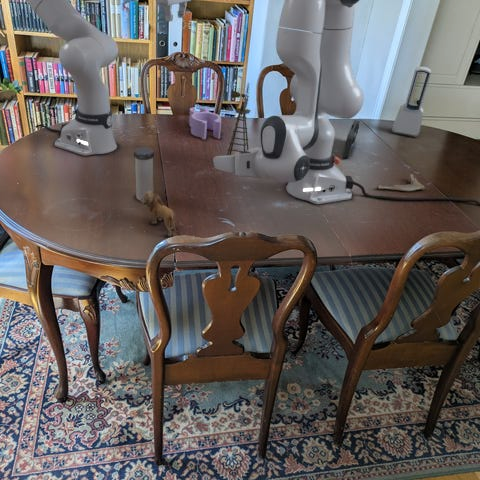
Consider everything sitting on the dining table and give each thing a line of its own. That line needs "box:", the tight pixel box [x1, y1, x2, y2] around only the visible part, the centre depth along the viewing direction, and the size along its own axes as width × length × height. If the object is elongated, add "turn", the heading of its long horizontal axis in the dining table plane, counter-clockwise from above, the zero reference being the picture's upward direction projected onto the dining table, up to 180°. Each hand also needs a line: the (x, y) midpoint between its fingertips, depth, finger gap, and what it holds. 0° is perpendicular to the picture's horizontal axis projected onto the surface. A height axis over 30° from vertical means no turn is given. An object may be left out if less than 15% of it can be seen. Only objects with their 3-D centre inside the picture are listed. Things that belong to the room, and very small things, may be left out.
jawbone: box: [376, 173, 426, 193], centre depth 169 cm, size 9×20×2 cm, turn 126°
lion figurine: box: [140, 190, 182, 237], centre depth 130 cm, size 15×5×9 cm, turn 50°
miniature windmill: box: [226, 82, 252, 155], centre depth 166 cm, size 9×8×30 cm
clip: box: [188, 106, 222, 140], centre depth 199 cm, size 20×12×7 cm, turn 23°
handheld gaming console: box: [342, 119, 361, 159], centre depth 194 cm, size 23×3×10 cm, turn 161°
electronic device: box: [391, 66, 432, 138], centre depth 214 cm, size 12×8×30 cm, turn 71°
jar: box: [134, 157, 154, 202], centre depth 142 cm, size 5×5×15 cm
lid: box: [133, 146, 155, 160], centre depth 138 cm, size 6×6×2 cm
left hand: (175, 19), depth 144 cm, fingers open, 8 cm apart
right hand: (226, 158), depth 145 cm, fingers open, 8 cm apart
